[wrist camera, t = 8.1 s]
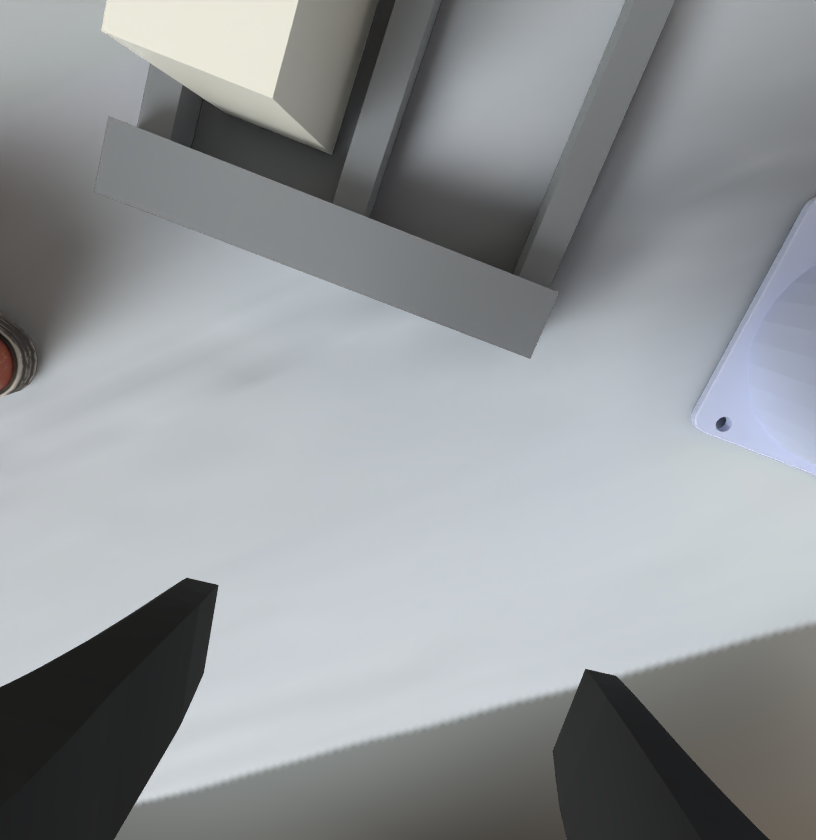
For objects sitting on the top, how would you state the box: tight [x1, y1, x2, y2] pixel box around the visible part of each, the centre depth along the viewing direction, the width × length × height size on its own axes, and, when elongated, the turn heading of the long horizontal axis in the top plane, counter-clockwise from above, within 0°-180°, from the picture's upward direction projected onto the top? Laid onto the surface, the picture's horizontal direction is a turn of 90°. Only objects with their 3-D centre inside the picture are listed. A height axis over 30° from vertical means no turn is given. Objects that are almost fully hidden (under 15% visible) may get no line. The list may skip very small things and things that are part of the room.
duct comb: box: [94, 0, 675, 358], centre depth 16 cm, size 13×10×3 cm
